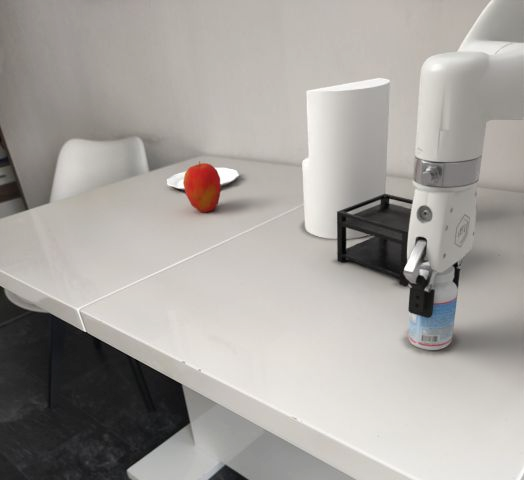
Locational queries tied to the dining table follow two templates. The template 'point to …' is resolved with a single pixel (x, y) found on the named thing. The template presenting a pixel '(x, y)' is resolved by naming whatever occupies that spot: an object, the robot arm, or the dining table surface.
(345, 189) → the cylinder
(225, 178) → the plate
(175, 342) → the dining table surface
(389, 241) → the rack
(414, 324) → the pill bottle
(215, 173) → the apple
